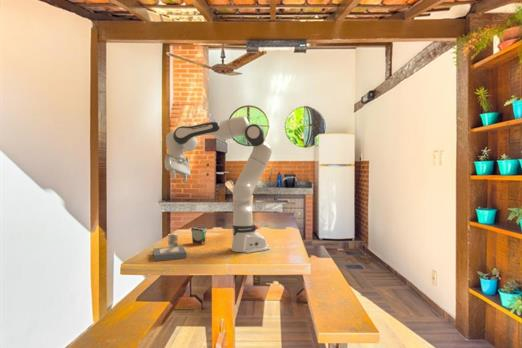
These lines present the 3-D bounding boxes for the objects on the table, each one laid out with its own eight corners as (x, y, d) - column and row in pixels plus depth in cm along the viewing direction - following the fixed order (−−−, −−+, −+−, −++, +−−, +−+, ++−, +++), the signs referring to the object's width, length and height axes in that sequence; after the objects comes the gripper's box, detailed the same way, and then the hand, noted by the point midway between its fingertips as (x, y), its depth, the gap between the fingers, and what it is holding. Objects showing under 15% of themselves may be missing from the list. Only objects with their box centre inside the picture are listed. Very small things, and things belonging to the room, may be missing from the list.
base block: (182, 251, 194) (182, 245, 194) (186, 257, 179) (186, 251, 179) (153, 253, 189) (153, 248, 189) (154, 261, 174) (154, 255, 174)
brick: (176, 248, 202) (176, 233, 201) (177, 250, 197) (177, 234, 197) (168, 249, 200) (167, 233, 200) (168, 251, 195) (168, 235, 195)
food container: (211, 243, 212) (210, 227, 212) (203, 245, 207) (202, 229, 207) (199, 241, 220) (198, 225, 220) (191, 242, 216) (190, 227, 215)
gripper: (169, 151, 187) (173, 174, 182) (190, 160, 205) (194, 182, 201) (160, 155, 189) (163, 177, 184) (182, 164, 207) (185, 185, 203)
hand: (179, 180), depth 193 cm, fingers open, 8 cm apart
